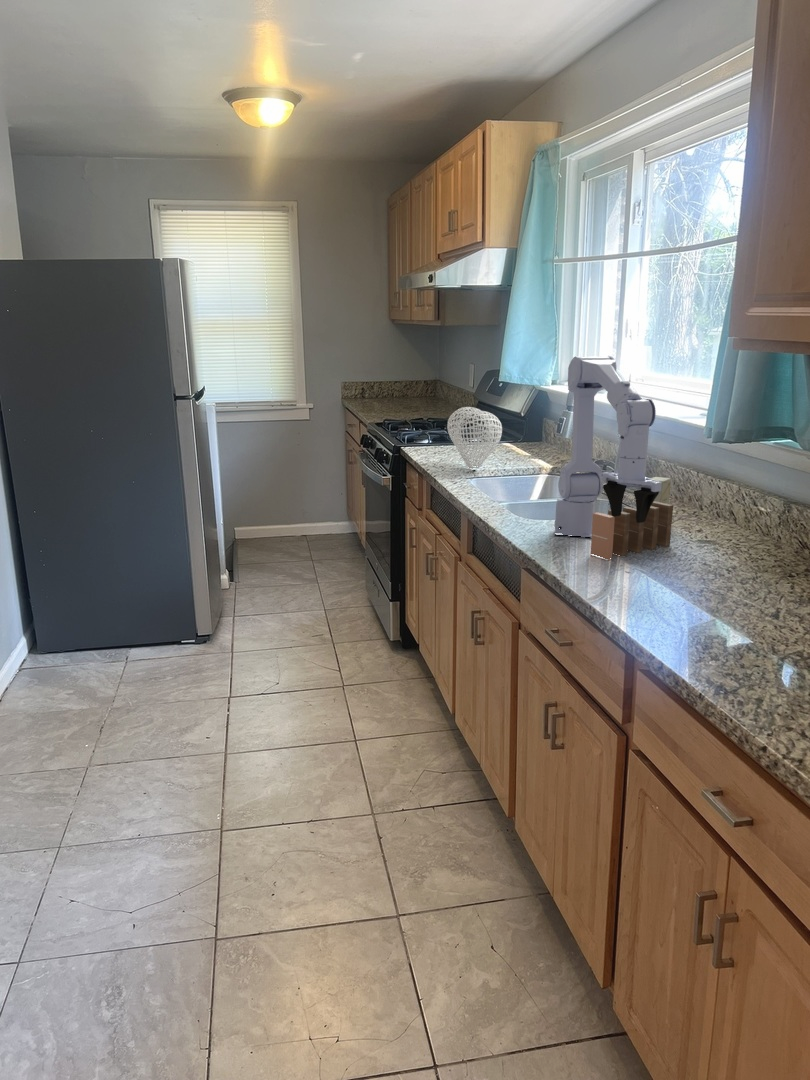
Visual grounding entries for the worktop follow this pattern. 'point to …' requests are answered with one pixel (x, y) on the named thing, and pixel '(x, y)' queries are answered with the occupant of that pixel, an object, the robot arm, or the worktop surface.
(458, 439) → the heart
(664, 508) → the walnut tile
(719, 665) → the worktop surface
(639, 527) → the walnut tile
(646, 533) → the walnut tile
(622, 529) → the walnut tile
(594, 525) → the terracotta tile
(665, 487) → the skincare box
